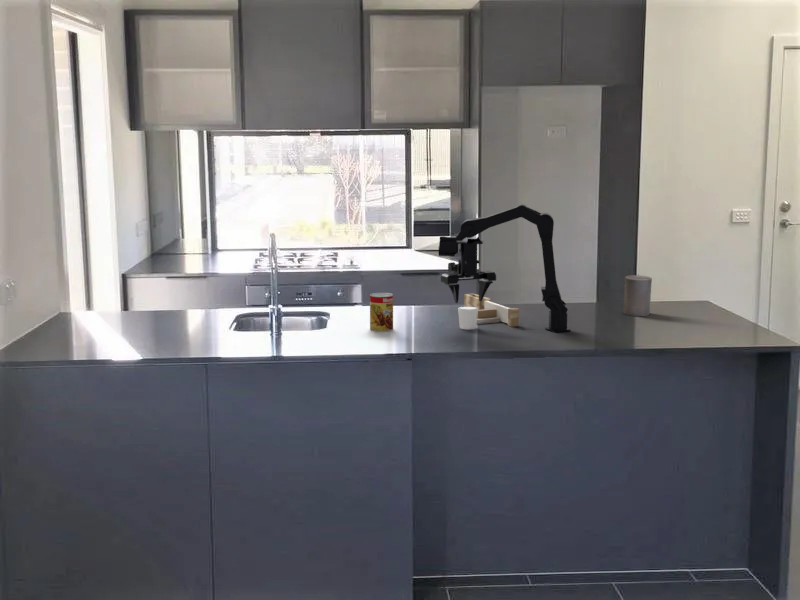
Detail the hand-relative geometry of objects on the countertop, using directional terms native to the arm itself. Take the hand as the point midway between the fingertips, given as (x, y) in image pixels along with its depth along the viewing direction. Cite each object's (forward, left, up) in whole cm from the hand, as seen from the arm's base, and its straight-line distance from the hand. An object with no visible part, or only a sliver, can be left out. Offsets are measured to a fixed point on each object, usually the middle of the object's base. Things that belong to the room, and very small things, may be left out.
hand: (468, 302), depth 323 cm
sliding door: (+7, -12, -9) cm, 16 cm away
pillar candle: (-3, -69, -9) cm, 70 cm away
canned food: (+10, +28, -9) cm, 31 cm away
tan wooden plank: (+13, -12, -9) cm, 19 cm away
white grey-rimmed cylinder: (0, 0, -9) cm, 9 cm away
